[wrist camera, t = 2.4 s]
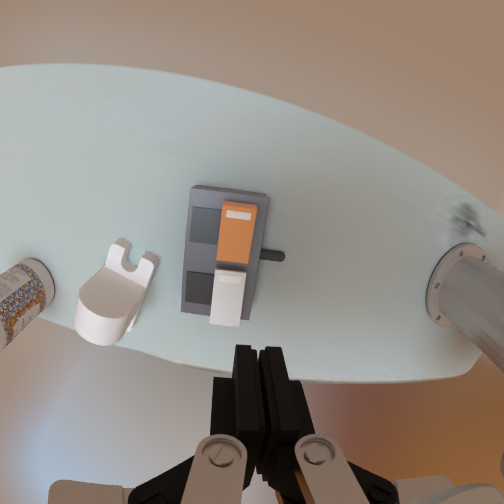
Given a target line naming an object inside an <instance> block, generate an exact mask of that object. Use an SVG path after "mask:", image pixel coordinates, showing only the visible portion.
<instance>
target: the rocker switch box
mask: <svg viewBox="0 0 504 504" xmlns="http://www.w3.org/2000/svg"><path fill="white" fill-rule="evenodd" d="M223 201H230V202H237V203H245V204H252V205H257V213H256V219H255V225H254V230H253V236H252V242H251V248H250V254H249V260H248V264H245V263H237V262H229V261H221V260H216V258H217V249H218V240H219V231H220V222H221V213H222V205H223ZM268 202H269V198H268V196H267V195H266V194H263V193H256V192H249V191H241V190H234V189H226V188H218V187H209V186H201V185H195V186H194V187H192V188H191V189H190V198H189V208H188V218H187V229H186V240H185V253H184V267H183V282H182V301H181V312H186V313H193V314H200V315H208V316H210V313H211V303H212V294H213V285H214V276H215V269H216V268H222V269H230V270H238V271H246V280H245V287H244V295H243V302H242V310H241V317H240V319H242V320H249V318H250V312H251V306H252V300H253V294H254V288H255V282H256V276H257V270H258V264H259V259H263V260H271V261H279V262H281V261H283V260H284V259H285V255H284V253H282V252H277V251H269V250H261V245H262V239H263V233H264V227H265V220H266V214H267V208H268Z"/></svg>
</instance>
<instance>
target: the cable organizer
mask: <svg viewBox="0 0 504 504" xmlns="http://www.w3.org/2000/svg"><path fill="white" fill-rule="evenodd" d="M130 246H131V243H130V242H128V241H126V240H124V239H119V240H118V241H117V242H115V243H114V244H112V245H111V247H110V250H109V253H108V256H107V259H106V263H105V266H104V267H103V268H102V269H101V270H100V271H98V272H97V273H96V274H95V275H94V276H93V277H92V278H91V279H90V280H88V281H87V282H86V283H85V284H84V285H83V286H82V287H81V289H80V290H79V295H78V300H77V305H76V310H75V315H74V321H73V323H74V327H75V329H76V331H77V332H78V333H79V334H80V336H82V337H83V338H84V339H86V340H87V341H89V342H91V343H94V344H98V345H106V346H108V345H113V344H115V343H117V342H119V341H120V340H121V338H122V337H123V335H124V333H125V332H126V331H130V330H131V329H132V327H133V325H134V324H135V322H136V319H137V316H138V314H139V311H140V308H141V306H142V303H143V300H144V298H145V295H146V292H147V290H148V287H149V284H150V282H151V279H152V277H153V274H154V272H155V269H156V267H157V264H158V258H157V256H155V255H154V254H152V253H150V252H148V251H147V252H146V253H145V254H144V255H143V256H142V257H141V260H140V262H139V265H138V266H134V265H132V264H131V263H130V262H129V261H128V258H127V255H128V252H129V249H130Z"/></svg>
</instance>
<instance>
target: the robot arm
mask: <svg viewBox="0 0 504 504" xmlns="http://www.w3.org/2000/svg"><path fill="white" fill-rule="evenodd" d="M426 305H427V310H428V314H429V315H430V317H431V318H432V319H433V320H434V321H435V322H436V323H437V324H438V325H441V326H453V325H455V326H456V327H457V328H458V329H459V330H460V331H461V332H462V333H463V334H465V335H466V336H467V337H468V338H469V339H470V340H471V341H472V342H473V343H474V344H475V345H476V346H477V347H478V348H479V349H480V350H481V351H482V352H483V353H484V354H485V355H486V356H487V357H488V358H489V359H490V360H491V361H492V362H493V363H494V364H495V365H496V366H497V367H498V368H499V369H500V370H501V371H502V372H503V373H504V273H503V272H501V271H500V270H498V269H496V268H494V267H492V266H491V265H489V263H488V259H487V256H486V254H485V252H484V251H483V250H482V249H481V248H480V247H478V246H477V245H475V244H471V243H464V244H461V245H458V246H456V247H455V248H453V249H452V250H451V251H449V252H448V253H447V254H446V255H445V256H444V257H443V259H442V260H441V261H440V263H439V264H438V266H437V267H436V269H435V271H434V273H433V275H432V277H431V280H430V283H429V286H428V290H427V297H426ZM255 466H256V471H257V474H262V479H263V481H268V485H269V486H270V487H272V488H273V489H275V493H276V498H277V501H278V504H504V495H503V493H502V492H501V491H500V490H499V489H498V488H497V487H495V486H493V485H491V484H486V483H471V484H465V485H460V486H457V487H454V488H453V485H452V483H451V481H450V480H449V479H448V478H447V477H445V476H443V475H434V476H427V477H419V478H411V479H400V480H396V481H395V482H390V481H388V480H386V479H384V478H382V477H380V476H378V475H375V474H373V473H371V472H369V471H367V470H365V469H362V468H361V467H359V466H357V465H355V464H353V463H351V462H348V461H347V460H346V459H345V457H344V455H343V453H342V451H341V450H340V448H339V446H338V445H337V443H336V442H335V441H334V440H332V439H331V438H330V437H327V436H325V435H320V434H315V430H314V427H313V423H312V420H311V416H310V412H309V409H308V406H307V402H306V398H305V395H304V391H303V388H302V384H301V382H300V381H299V380H289V377H288V373H287V369H286V365H285V361H284V356H283V352H282V349H281V347H270V346H266V348H265V350H260V353H259V358H258V359H257V351H256V350H255V349H251V345H237V344H236V348H235V356H234V365H233V373H232V378H222V377H214V380H213V395H212V410H211V428H210V436H209V437H206V438H204V439H203V440H202V441H201V442H200V443H199V445H198V447H197V449H196V453H195V455H194V456H192V457H190V458H189V459H187V460H185V461H184V462H182V463H180V464H179V465H177V466H175V467H173V468H171V469H170V470H168V471H166V472H164V473H162V474H161V475H159V476H157V477H155V478H153V479H151V480H149V481H148V482H145V483H144V484H141V485H139V486H137V487H136V488H122V486H117V485H104V484H103V485H102V484H94V483H86V482H78V481H72V480H58V481H56V482H54V483H53V484H52V485H51V486H50V489H49V495H48V504H241V497H242V491H243V490H244V489H245V488H247V487H248V486H249V485H250V482H251V479H252V475H253V472H254V469H255ZM500 470H501V474H502V477H503V479H504V452H503V454H502V458H501V462H500Z"/></svg>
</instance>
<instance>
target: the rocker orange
mask: <svg viewBox="0 0 504 504" xmlns="http://www.w3.org/2000/svg"><path fill="white" fill-rule="evenodd" d="M256 213H257V205H252V204H245V203H237V202H230V201H223V205H222V213H221V222H220V231H219V240H218V249H217V258H216V260H221V261H229V262H237V263H245V264H248V260H249V254H250V248H251V242H252V236H253V230H254V225H255V219H256Z"/></svg>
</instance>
